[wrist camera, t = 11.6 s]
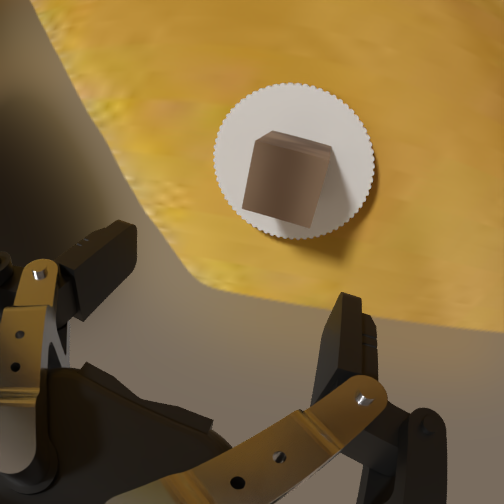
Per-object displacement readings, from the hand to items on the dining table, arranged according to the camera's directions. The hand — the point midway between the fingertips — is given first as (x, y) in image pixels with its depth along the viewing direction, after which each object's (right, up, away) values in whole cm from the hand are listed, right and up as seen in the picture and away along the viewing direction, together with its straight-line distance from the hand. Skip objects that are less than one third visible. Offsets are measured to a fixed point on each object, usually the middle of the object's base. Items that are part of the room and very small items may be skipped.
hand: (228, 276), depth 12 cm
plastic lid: (+5, +10, +17) cm, 20 cm away
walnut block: (+4, +8, +15) cm, 17 cm away
